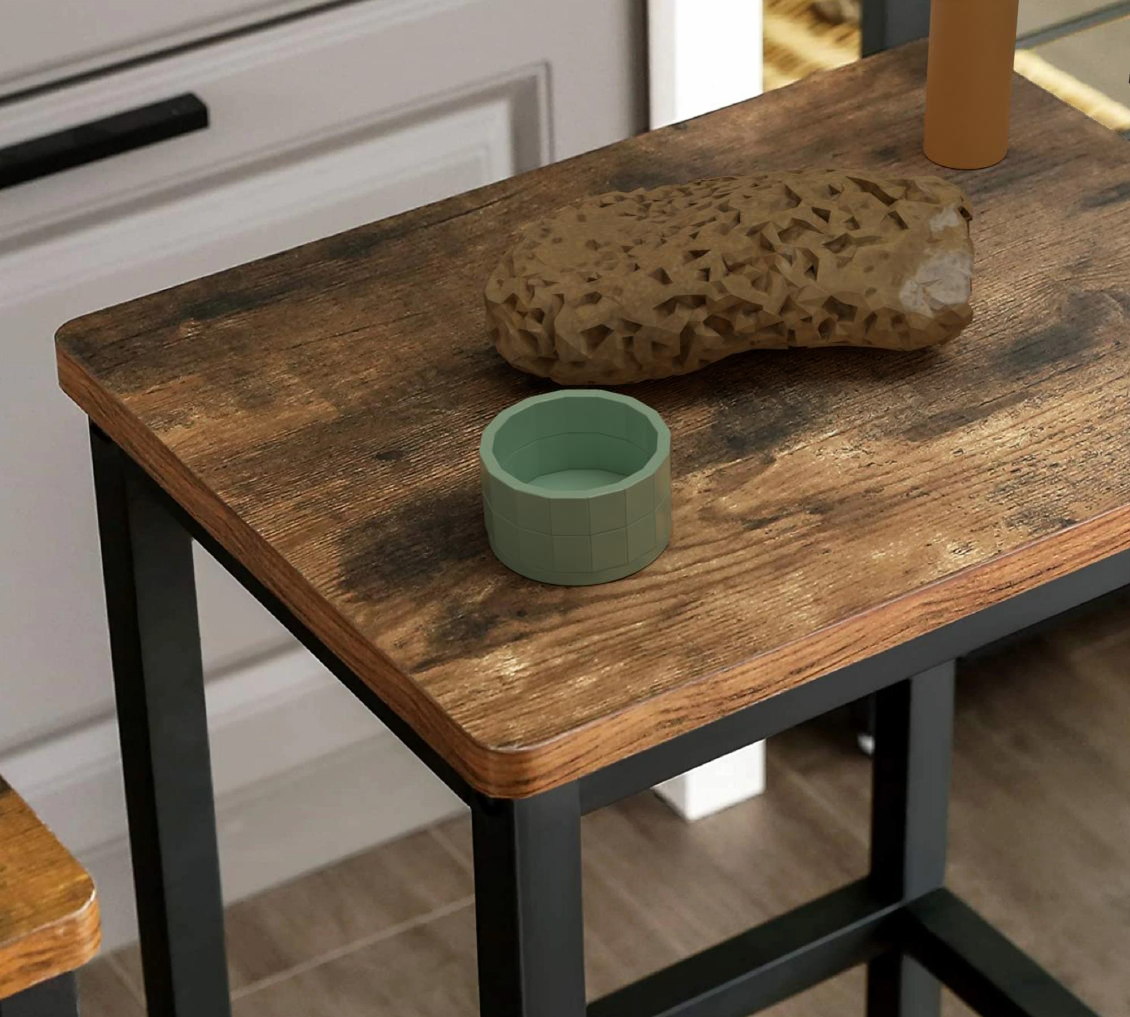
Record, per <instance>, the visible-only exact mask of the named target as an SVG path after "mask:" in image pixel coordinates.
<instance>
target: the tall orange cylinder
mask: <svg viewBox="0 0 1130 1017" xmlns="http://www.w3.org/2000/svg"><path fill="white" fill-rule="evenodd" d="M1019 3H1020V0H930V11H929V12H930V13H929V15H930V16H929V31H928V32H929V33H928V51H927V52H928V53H927V67H926V68H927V70H926V71H927V73H926V88H925V109H924V128H923V144H922V146H923V147H922V148H923V149H922V150H923V153H924V155H925V156H926V157H927V159H929V160H930V161H931V162H933V163H935V164H937V165H939V166H943V167H946V168H951V169H959V170H976V169H982V168H984V169H985V168H988V167H990V166H994V165H996V164H998V163H1000V162H1001V161H1002V160H1004V158H1005V157H1006V156H1007V153H1008V145H1009V132H1010V119H1011V118H1010V117H1011V107H1012V96H1013V94H1012V93H1013V80H1014V67H1015V54H1016V42H1017V30H1018V16H1019Z"/></svg>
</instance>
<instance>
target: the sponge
mask: <svg viewBox="0 0 1130 1017" xmlns="http://www.w3.org/2000/svg"><path fill="white" fill-rule="evenodd" d="M973 206H974V205H973V202H972V201H971V199H970V197H969V196H968V195H967V193H966V191H965V190H964V188H962V187H961V186H958V185H956V184H955V183H952V182H950V181H947V180H945V179H944V178H941V177H939V176H937V175H924V176H923V175H922V176H917V175H913V176H909V177H898V176H892V175H890V174H888V173H878V172H876V171H875V170H874V169H862V168H857V167H851V166H847V167H845V166H841V167H833V168H828V167H826V168H821V167H808V168H799V169H797V168H796V169H789V170H786V169H785V170H784V169H766V170H759V171H753V172H752V173H749V174H746V175H745V174H740V173H736V174H730V175H722V176H708V177H704V178H698V179H692V180H689V181H688V182H684V183H678V184H677V183H675V184H667V185H659V186H658V187H656V188H653V189H651V190H647V189H645V188H644V187H643V186H641V187H639V188H636V189H634V190H633V191H630V192H624V191H623V192H622V191H616V190H613V191H610V192H606V193H602V194H598V195H595V196H592V197H589V198H587V199H584V200H581V201H579V202H576V203H574V204H570V205H569V206H567V207H566V208H565V209H563V210H562V211H560V212H559V213H554V214H551V215H546V216H545V217H541V218H540V219H538V220H536V221H535V222H533V223H531V224H530V225H528V226H526V227H524V228H523V229H522V238H521V241H520V243H518V244H516V245H515V246H514V245H508V247H507V249H506V250H505V253H504V254H503V256H501V259H500V260H499V262H498V265H497V267H496V268H495V270H494V271H493V273H492V274H491V276H489V279H488V280H487V283H486V284H485V286H484V289H482V298H483V303H484V306H485V311H486V312H485V318H484V327H483V331H484V332H485V334H486V335H487V336H488V338H489V339H490V340H491V341H492V344H494V347H495V349H496V351H497V353H498V354H499V355H500V356H502V357H503V358H504V359H505V360H506V361H507V362H508V363H509V364H510V365H511V366H512V367H513V368H514V369H515V370H519V371H522V372H524V373H526V374H532V375H535V376H537V377H539V378H550V379H551V381H552V382H555V383H557V384H560V386H561V385H562V386H581V385H583V386H592V385H593V386H594V385H598V386H599V385H601V386H602V385H605V386H606V385H609V386H618V385H625V384H626V385H627V384H638V383H641V382H643V381H646V380H659V379H665V378H668V377H670V376H677V377H680V376H683V375H687V374H690V373H693V372H696V371H699V370H700V371H701V370H702V369H704V368H705V367H707V366H709V365H710V364H713V363H716V362H718V361H720V360H722V359H725V358H727V357H729V356H730V355H734V354H741V353H745V352H747V351H751V350H773V349H774V350H789V347H790V346H791V347H795V348H796V347H807V349H814V348H822V347H842V346H843V347H845V346H846V347H862V348H863V347H866V348H879V349H885V350H893V351H898V352H912V351H914V350H918V349H922V348H926V347H929V346H933V345H935V344H939V345H940V346H942V347H945V346H946V345H948V344H949V343H951V342H952V341H954V340H955V339H956V338H958V337H959V336H960V335H961V333H962V332H963V330H965V329H966V328H967V327H968V326H969V325H970V324H971V323H972V322H973V320H974V309H973V308H972V306H971V305H970V303H969V302H968V301H969V300H970V298H971V295H972V292H973V282H972V281H973V280H972V277H973V276H974V274H975V257H976V256H975V248H974V243H973V240H972V238H971V235H970V234H971V233H970V232H971V230H970V222H971V221H973V220H974V211H973V210H974V208H973Z"/></svg>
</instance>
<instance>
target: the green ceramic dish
mask: <svg viewBox="0 0 1130 1017" xmlns="http://www.w3.org/2000/svg"><path fill="white" fill-rule="evenodd" d="M672 453H673V452H672V432H671V430H670V428H669V426H668V425H667V424H666V421H665V420H664V419H663V417H662V416H661V414H659V412H658V411H657V410H655V409H654V408H652V407H650V406H648V405H647V404H646V403H644V402H641V401H640V400H638V399H636V398H634V397H632V396H629V395H625V394H621V393H616V392H611V391H608V390H604V389H559V390H556V391H551V392H547V393H542V394H538V395H533V396H529V397H527V398H525V399H522V400H520V401H519V402H516V403H515V404H513V405H511V406H509V407H507V408H505V409H503V410H501V411H500V412H499V413H498V414H497V415H496V416H495V417H494V418H493V419H492V420H491V421H490V423H489V424H488V425H487V426H486V427H485V428H484V429H483V431H482V432H481V437H480V443H479V449H478V462H479V472H480V473H479V474H480V482H481V484H480V485H481V494H482V506H483V516H484V517H483V518H484V526H485V528H486V532H487V540H488V544H489V546H490V549H491V551H492V552H493V554H494V555H495V557H496V558H497V559H498V560H499V561H500V562H501V563H502V564H503V565H505V566H506V567H507V568H508V569H510V570H511V571H513V572H515V573H516V574H518V575H521V576H523V577H525V578H528V579H531V580H534V581H537V582H540V583H544V584H550V585H558V586H575V587H577V586H591V585H600V584H604V583H609V582H614V581H617V580H620V579H623V578H625V577H628V576H630V575H633V574H635V573H638V572H639V571H641V570H643V569H644V568H646V567H647V566H649V565H650V564H652V563H653V562H654V561H656V559H658V558H659V557H660V555H661V554H662V553H663V552H665V549H666V548H667V547H668V545H669V543H670V541H671V537H672V534H673V528H674V524H673V520H674V519H673V511H674V510H673V509H674V496H673V494H674V491H673V490H674V489H673V456H672V455H673V454H672Z"/></svg>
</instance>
